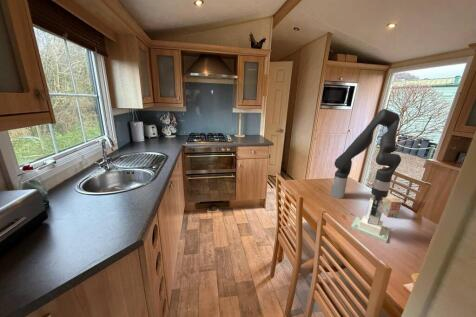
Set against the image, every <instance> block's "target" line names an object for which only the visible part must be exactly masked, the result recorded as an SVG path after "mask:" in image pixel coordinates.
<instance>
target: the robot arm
mask: <svg viewBox="0 0 476 317" xmlns="http://www.w3.org/2000/svg"><path fill="white" fill-rule="evenodd" d="M399 122H400V115H399V114H398V113H397V112H394V111H392V110H389V109H387V108H382V109H380V110H379V111H378V112H377V113H376V114H375V116H374V117H373V118H372V120H371V121H370V122H369V123H368V125H366V127H365V128H364V130H362V132H361V133H360V134H359V135H358V136H356V138H355V139H353V141H352V143H351V144H350V145H349V146H348V147H346V150H344V152H343V153H342V154H340V155H339V156H338V157H337V158H336V159H335V161H334V166H335V168H336V169H337V170H336V171H334V177H333V183H332V184H331V190H330V196H332V197H334V198H336V199H343V198H344V197H345V193H346V188H347V183H348V177H349V176H350V173H351V170H352V166H353V161H352V160H353V159H355V157H357V156H359V155H360V154H361V153H363V152H365V151H366V149H367V148H369V146H370V145H372V143H373V137H374V132H375V130H376V128H377V127H378V126H379V125H380V126H383V127H386V128H387V131H386V132H385V133H383V134H382V136H381V137H380V140H379V150H378V153H377V155H376V157H375V162H376V164H377V165H378V166H384V167H386V168H379V169H377V171H376V173H375V178H374V179H373V180H374V181H373V182H372V183H373V184H372V186H371V187H372V188H371V191H370V192H371V195H372V194H373V195H375V196H374V198H373V204H372V208H371V209H372V211H371V215H373V216H375V215H376V211H377V208H378V207H379V206H380V203H381V201H382V199H383V198H385V197H387V195H388V193H389V192H390V187H391V182H392V178H393V176H394V173H395V171H396V169H397V168H398V167H399V166H400V164H401V162H402V157H401V155H400V154H399V153H398V154H397V153H394V152H396V149H397V144H396V143H397V141H396V140H397V138H396V137H397V131H398V128H399V124H400V123H399ZM378 204H379V205H378ZM374 206H375V207H376V208H374Z"/></svg>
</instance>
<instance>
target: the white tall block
mask: <svg viewBox="0 0 476 317" xmlns="http://www.w3.org/2000/svg"><path fill="white" fill-rule="evenodd" d="M372 204H373V198H371V197H370V198H369V201H368V206H367V210H366V213H365V215H366V217H365V218H366V221H367V223H369V224H374V225H379V222H380V221H381V218H382V215H383V212H382V211H383V208H384V203H383V201H381V203H380V206H379V207H378V208H377V211H376V215H375V216H373V215H371V211H372V209H371V208H372ZM378 205H379V204H378ZM374 208H376V207H375V206H374Z"/></svg>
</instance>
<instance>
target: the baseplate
mask: <svg viewBox="0 0 476 317" xmlns="http://www.w3.org/2000/svg"><path fill="white" fill-rule="evenodd" d="M365 217H366V214H363V215H362V217H360V216H355V219H354V220H353V221H352V223H351V225H350V229H351V230H354V231H357V232H359V233H362V234H364V235H367V236H369V237H372V238H374V239H376V240H379V241H381V242H384V243H387V242H388V238H389V236H390V231H391V228H390V227H388V226H385V225H383V223H384V221H383V220H380V222H379V225H374V224H369V223H367V221H366V218H365Z"/></svg>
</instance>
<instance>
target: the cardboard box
mask: <svg viewBox="0 0 476 317" xmlns="http://www.w3.org/2000/svg"><path fill="white" fill-rule="evenodd" d="M374 196H375V195H373V194H372V193H371V197H370V198H374ZM382 201H383V203H384V208H383V211H382V214H384V216H385V217H387V218H396V219H397V218H398V216H399V212H400V210H401V207H402V203H403V202H402V200H400V199H399V198H398V197H396V196H394V195H393V194H392V193H390V192H388V195H387V197H385V198H383V199H382Z"/></svg>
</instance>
